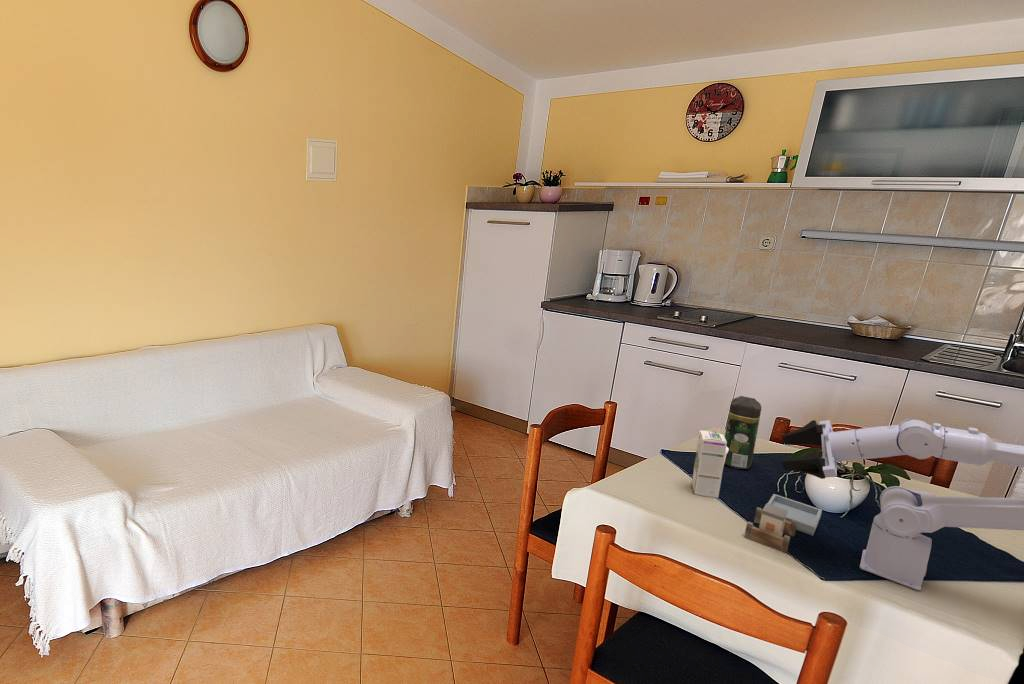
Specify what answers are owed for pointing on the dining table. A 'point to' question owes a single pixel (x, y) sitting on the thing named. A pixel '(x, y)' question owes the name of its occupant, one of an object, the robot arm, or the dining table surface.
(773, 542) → the rail holder
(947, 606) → the dining table surface
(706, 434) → the syrup box
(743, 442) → the coffee jar
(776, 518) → the small beige carton
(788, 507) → the tray
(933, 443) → the robot arm
